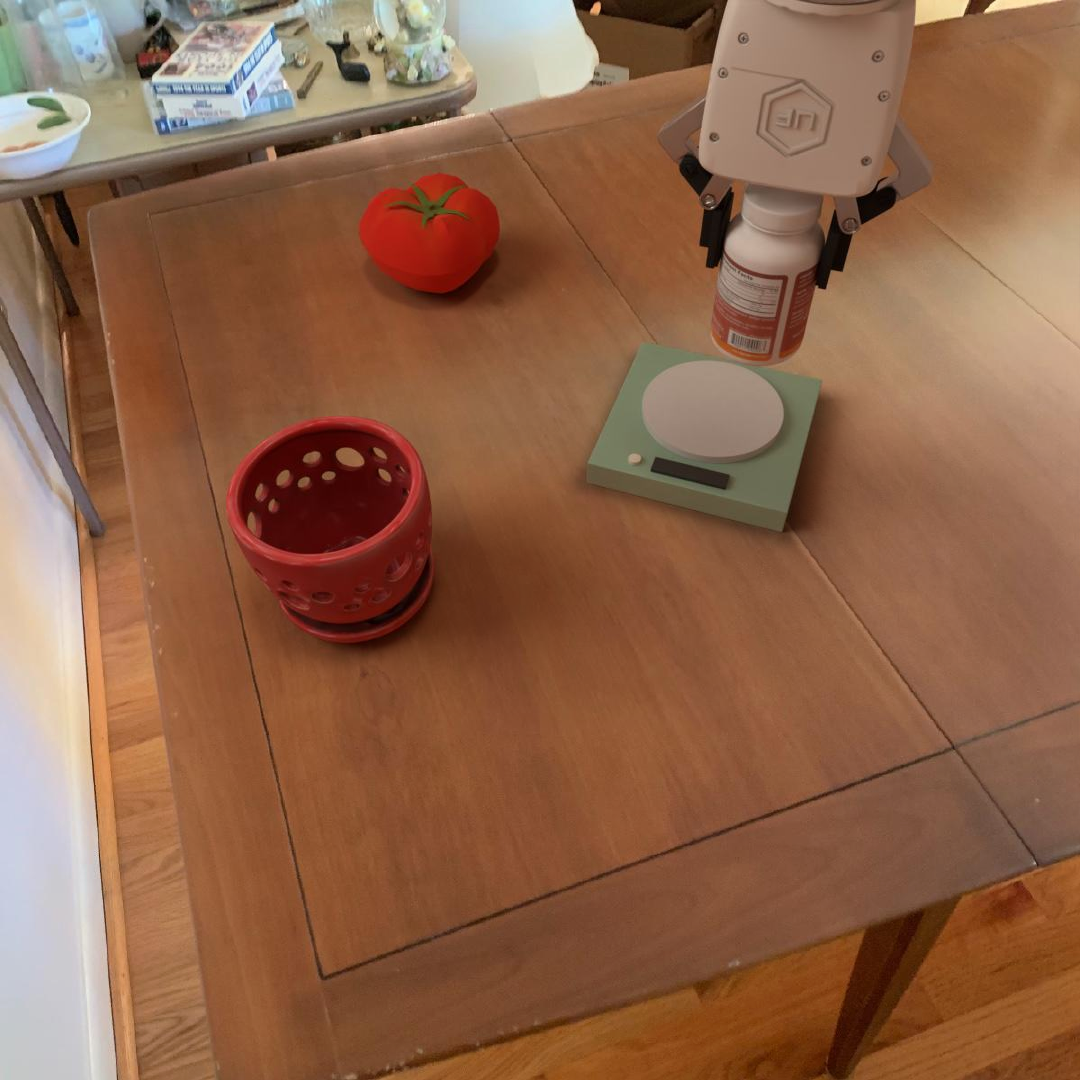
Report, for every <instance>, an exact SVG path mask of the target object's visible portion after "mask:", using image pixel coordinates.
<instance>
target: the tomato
mask: <svg viewBox="0 0 1080 1080" xmlns="http://www.w3.org/2000/svg"><path fill="white" fill-rule="evenodd" d="M408 183H409V185H410V186H409V187H407V189H403V188H402V189H401V188H397V187H393V186H390V187H387V188H385V189H384V190H382V191H380V192H378V194H376V195H375V196H374V197H373V198H372V199H370V201H369V203H368V205H367V207H366V209H365V211H364V214H362V217H361V220H360V222H359V223H358V224H359V225H358V236H359V239H360V242H361V245H362V247H364V249H365V250H366V253H368V255H369V257H370V258H371V260H372V262H373V263H374V265H375V266H376V267H377V268H378V270H380V272H381V273H382V274H384V275H385V276H387V277H389V278H390V279H392V280H393V281H395V282H396V283H398V284H399V285H402V286H404V287H406V288H410V289H412V290H414V291H420V292H426V293H427V292H428V293H435V294H446V293H448V292H452V291H455V290H457V289H458V288H459V287H461V286H462V285H464V284H465V283H467V282H468V280H470V279H471V277H473V275H475V274H476V273H477V272H478V271H479V269H480V268H481V266H482V264H483V263H484V262H486V261H487V260H488V259H489V258H490V257H491V256H492V253H493V252H494V249H495V247H496V245H497V243H498V241H499V239H500V232H501V226H500V217H499V213H498V210H497V206H496V205H495V204H494V202H493V201H492V199H490V197H489V196H487V195H486V194H484V193H483V192H481V191H480V190H478V189H476V188H472V187H469V186H468V184H466V182H465V181H463V180H462V179H461V178H460V177H458V176H456V175H453V174H447V173H443V172H437V173H434V174H433V173H432V174H428V175H424V176H421V177H420V178H419V179H417V180H416V181H415V182H414V183H412V182H410V181H408Z"/></svg>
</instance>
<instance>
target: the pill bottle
mask: <svg viewBox="0 0 1080 1080" xmlns="http://www.w3.org/2000/svg"><path fill="white" fill-rule="evenodd" d="M824 197H825V195H818V194H812V193H805V192H799V191H793V190H787V189H781V188H775V187H769V186H763V185H757V184H751V183H746V184H745V186H744V189H743V193H742V197H741V204H740V212H738V213H737V214H736V215H734V216H733V217H732V219H730V223H729V224H728V226H727V228H726V231H725V235H724V240H723V247H722V253H721V259H720V262H719V266H718V274H717V282H716V287H715V288H716V289H715V295H714V301H713V309H712V315H711V322H710V338H711V340H712V343H713V345H714V347H715V348H716V349H717V351H719V352H720V353H721V354H722V355H723V356H725V357H726V358H727V359H728V360H732V361H736V362H738V363H741V364H744V365H749V366H757V367H769V366H775V365H778V364H782V363H784V362H785V361H787V360H789V359H790V358H792V357H794V355H796V354H797V352H798V351H799V350H800V348H801V346H802V343H803V340H804V337H805V332H806V328H807V325H808V320H809V316H810V311H811V308H812V307H811V306H812V303H813V298H814V295H815V290H816V287H817V286H815V283H816V279H817V275H818V271H819V267H820V263H821V259H822V255H823V251H824V247H825V243H826V236H825V232H824V230H823V227H822V225H821V224H820V222H819V220H820V217H821V216H822V210H823V203H824Z"/></svg>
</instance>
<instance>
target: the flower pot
mask: <svg viewBox="0 0 1080 1080" xmlns="http://www.w3.org/2000/svg"><path fill="white" fill-rule="evenodd" d="M374 448H376V449H378V450H380V451H382V452H383V453H384V454H385V457H386V458H384V457H381V456H379V455H378V454H377V453H376V451H375V450H374ZM341 449H351V450H353V451H356V452H357V453H358V454H359V455H360V456H361V457H362V459H363V464H361V465H357V466H353V465H348V464H344V463H342V462H341V461H340V460H339V458H338V457H337V452H338V451H339V450H341ZM314 452H317V453H319V457H318V458H317V459H316V460H313V461H311V462H309V461H308V462H307V461H304V458H305V457H306V455H308V454H311V453H314ZM419 454H420V453H418V451H417V450H416V448H415V447H414V446H413V444H412V443H411V442H410V440H408V439H407V438H406V437H405V436H404V435H403V434H402V433H400V432H399V431H398V430H396V429H394V428H393V427H391V426H389V425H388V424H385V423H383V422H381V421H378V420H375V419H371V418H368V417H367V418H366V417H361V416H355V415H354V416H353V415H329V416H321V417H316V418H311V419H308V420H304V421H301V422H297V423H295V424H292V425H290V426H288V427H285V428H283V429H282V430H279V431H278V432H275V433H274V434H273V435H271V436H269V437H268V438H266V439H265V440H263V441H262V442H260V443H259V444H258V445H257V446H255V447H254V448H253V449H252V450H251V451H250V452H248V453H247V455H246V456H244V458H243V459H242V460H241V462H240V463H239V464H238V466H237V468H236V469H235V471H234V473H233V474H232V476H231V478H230V481H229V484H228V487H227V491H226V498H225V511H226V517H227V520H228V523H229V526H230V529H231V531H232V533H233V535H234V538H235V540H236V543H237V544H238V546H239V549H240V550H241V552H242V554H243V556H244V557H245V559H246V562H247V563H248V565H249V566H250V567H251V569H252V571H253V572H254V574H256V576H257V577H258V578H259V580H260V581H261V582H262V584H263V585H264V586H265V588H266V589H267V590H268V591H269V592H270V593H271V594H272V595H273V596H274V597H275V598H276V599H277V600H278V603H279V605H280V608H281V610H282V611H283V613H284V614H285V616H286V618H287V619H288V621H290V622H291V623H292V624H293V625H294V626H295V627H296V628H298V629H299V630H301V631H302V632H303V633H305V634H307V635H309V636H312V637H314V638H316V639H319V640H323V641H327V642H331V643H341V644H353V643H361V642H366V641H369V640H370V641H371V640H374V639H378V638H381V637H383V636H385V635H387V634H390V633H391V632H393V631H395V630H398V628H400V627H401V626H403V625H404V624H405V623H407V622H408V621H409V620H411V618H413V616H415V614H416V613H418V611H419V610H420V609H421V607H422V606H423V604H424V603H425V601H426V600H427V598H428V596H429V594H430V592H431V589H432V585H433V583H434V579H435V571H436V570H435V567H436V566H435V558H434V553H433V550H432V547H431V543H432V533H433V509H432V501H431V492H430V486H429V480H428V478H427V473H426V470H425V466H424V463H423V461H422V459H421V457H420V455H419ZM379 469H380V470H383V471H385V472H386V473H388V475H389V476H390V481H388V480H386V479H384V478H383V477H382V476H381V473H380V470H379ZM284 471H288V478H287V480H285V481H284V482H283V483H281V484H280V485H279V484H278V482H277V480H278V478H279V476H280V475H281V473H283V472H284ZM328 472H331V473H334V476H333V478H331V479H325V478H323V475H324V474H326V473H328ZM303 478H309V480H308V483H307V484H306V485H304V486H299V482H300V480H302V479H303ZM260 485H262V488H261V492H260V494H259V496H256V495H257V494H256V493H257V490H258V488H259V486H260ZM272 500H273V502H274V503H273V506H272V508H271V509H270V503H271V501H272ZM251 513H252V515H253V518H254V526H255V527H254V533H253V532H252V531H251V529H250V528H249V525H248V522H249V516H250V514H251Z"/></svg>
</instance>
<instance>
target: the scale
mask: <svg viewBox="0 0 1080 1080" xmlns="http://www.w3.org/2000/svg"><path fill="white" fill-rule="evenodd" d="M822 384H823V380H822V379H819V378H814V377H810V376H805V375H801V374H795V373H791V372H787V371H783V370H777V369H772V368H767V367H765V366H762V367H757V366H749V365H744V364H741V363H738V362H736V361H733V360H731V359H728V358H727V359H726V358H721V357H718V356H712V355H709V354H704V353H699V352H694V351H690V350H685V349H680V348H675V347H671V346H666V345H663V344H658V343H653V342H648V341H642V342H641V344H640V346H639V348H638V351H637V352H636V355H635V357H634V360H633V362H632V364H631V366H630V368H629V370H628V373H627V374H626V377H625V380H624V382H623V384H622V386H621V388H620V390H619V392H618V395H617V397H616V399H615V401H614V404H613V405H612V408H611V410H610V412H609V415H608V417H607V418H606V421H605V423H604V426H603V428H602V430H601V432H600V435H599V437H598V439H597V441H596V442H595V445H594V448H593V450H592V452H591V455H590V457H589V458H588V461H587V465H586V483H587V484H589V485H593V486H597V487H600V488H604V489H609V490H613V491H616V492H621V493H625V494H629V495H633V496H636V497H639V498H645V499H649V500H652V501H657V502H659V503H665V504H668V505H671V506H676V507H679V508H684V509H688V510H692V511H696V512H700V513H703V514H708V515H712V516H715V517H719V518H723V519H728V520H732V521H736V522H738V523H743V524H745V525H746V524H747V525H751V526H755V527H759V528H763V529H766V530H770V531H775V532H778V533H783V532H784V528H785V524H786V522H787V517H788V514H789V510H790V506H791V502H792V499H793V494H794V491H795V487H796V483H797V479H798V476H799V471H800V467H801V464H802V461H803V457H804V453H805V448H806V445H807V442H808V437H809V433H810V429H811V426H812V422H813V418H814V414H815V410H816V407H817V402H818V399H819V395H820V392H821V388H822Z"/></svg>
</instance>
